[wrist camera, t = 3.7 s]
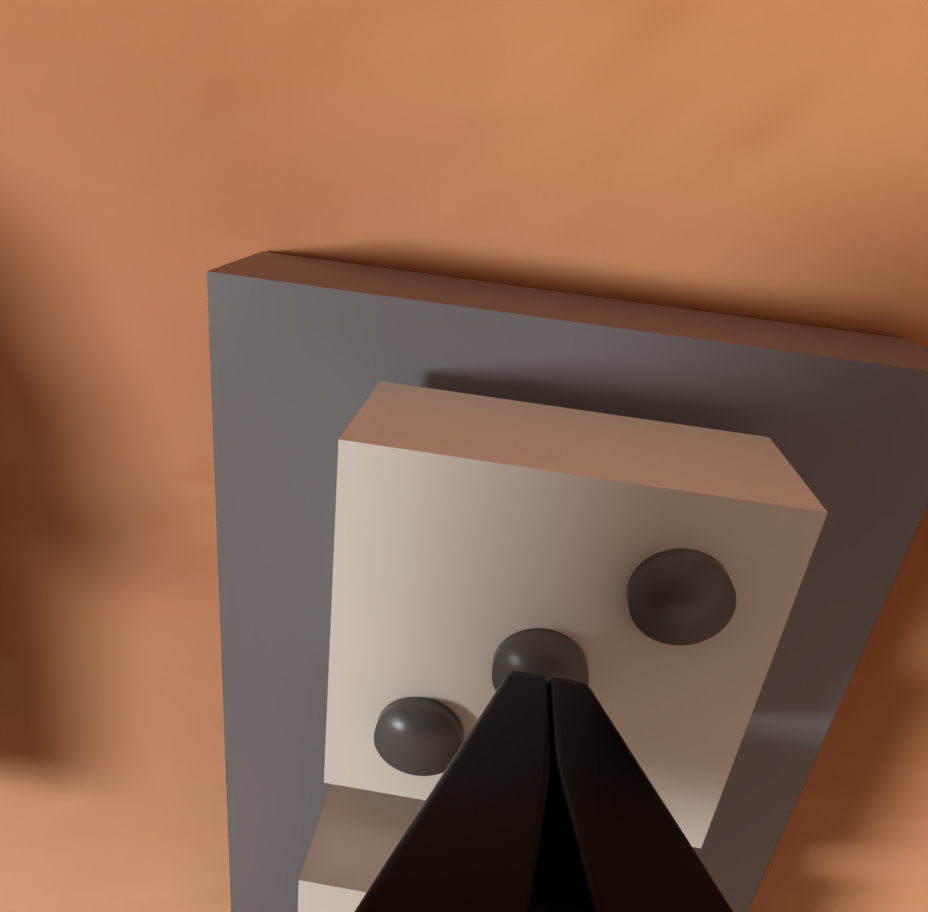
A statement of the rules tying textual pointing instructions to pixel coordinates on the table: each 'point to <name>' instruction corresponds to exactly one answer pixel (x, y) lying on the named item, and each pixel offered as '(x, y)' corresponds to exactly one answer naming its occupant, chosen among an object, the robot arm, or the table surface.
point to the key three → (555, 582)
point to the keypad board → (549, 383)
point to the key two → (351, 846)
